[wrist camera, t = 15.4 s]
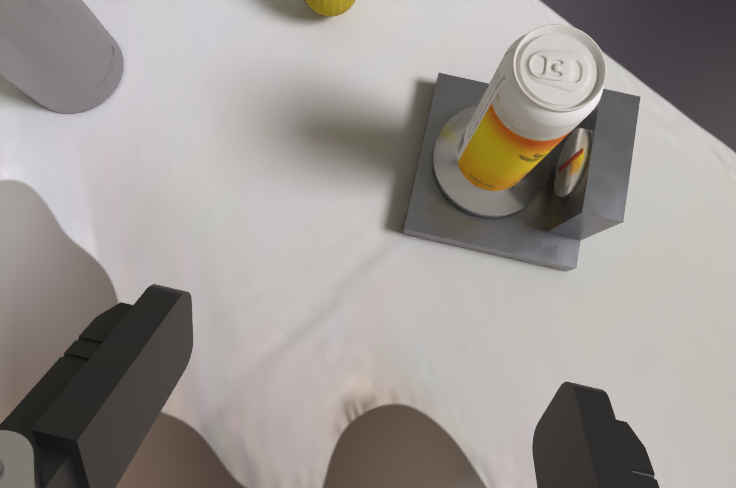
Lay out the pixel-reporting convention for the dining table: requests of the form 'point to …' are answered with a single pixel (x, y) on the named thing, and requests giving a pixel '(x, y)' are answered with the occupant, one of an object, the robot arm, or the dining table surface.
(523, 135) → the beer can
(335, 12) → the lemon
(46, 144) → the dining table surface
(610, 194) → the scale
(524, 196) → the pan
